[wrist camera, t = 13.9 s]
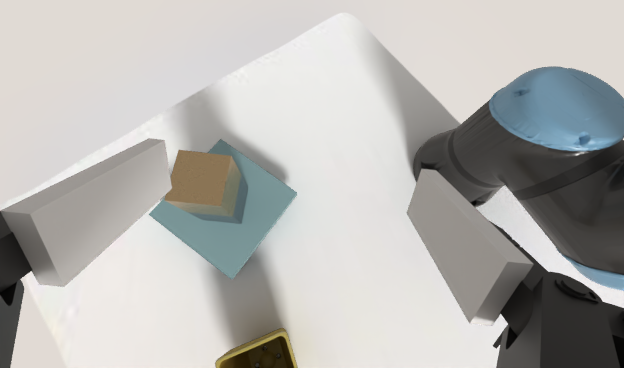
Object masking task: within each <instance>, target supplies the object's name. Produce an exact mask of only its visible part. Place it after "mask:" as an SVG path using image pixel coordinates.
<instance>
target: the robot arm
mask: <svg viewBox="0 0 624 368" xmlns="http://www.w3.org/2000/svg"><path fill="white" fill-rule="evenodd" d="M623 138H624V98H623V97H622V96H621V95H620V94H619V93H618V92H617V91H616V90H615V89H614V88H612V87H611V86H610V85H608V84H607V83H605V82H604V81H602V80H601V79H599V78H597V77H595V76H593V75H591V74H588V73H586V72H583V71H579V70H576V69H572V68H568V69H567V68H563V67H542V68H538V69H534V70H531V71H528V72H526V73H524V74H523V75H521V76H519V77H518V78H516V79H515V80H514V81H513V82H511V83H510V84H509V85H507V86H506V87H504V88H502V89H500V90H499V91H497V92H496V93H495V94H494V95H493V97H492V98H491V99H490V100H489V101H488V102H487V103H485V104H484V105H483V106H482V107H481V108H480V109H479V110H477V111H476V112H475V113H474V114H473V115H472V116H470V117H469V118H468V119H467V120H466V121H464V122H463V123H462V124H461V125H460V126H459V127H458V128H456V129H453V130H450V131H447V132H444V133H441V134H438V135H436V136H434V137H432V138H430V139H429V140H428V141H427V142H426V143H425V144H423V145H422V146H421V148H420V149H419V150H418V152H417V154H416V156H415V159H414V175H415V178H416V181H417V184H416V187H415V190H414V193H413V196H412V199H411V202H410V205H409V208H408V211H407V215H408V216H409V218H410V220H411V222H412V223H413V225H414V227H415V229H416V230H417V232H418V234H419V236H420V237H421V239H422V241H423V243H424V244H425V246H426V248H427V250H428V251H429V253H430V255H431V257H432V258H433V260H434V262H435V264H436V265H437V267H438V269H439V271H440V272H441V274H442V276H443V278H444V279H445V281H446V283H447V285H448V287H449V288H450V290H451V292H452V294H453V295H454V297H455V299H456V301H457V302H458V304H459V306H460V308H461V309H462V311H463V313H464V315H465V316H466V318H467V320H468V322H469V323H470V324H477V325H488V326H492V325H493V324H494V322H495V321H496V319H497V318H498V317H499V315H500V314H502V316H503V317H504V318H505V320H506V321H507V323H508V325H507V326H506V328H505V329H504V331H503V332H502V333H501V335H500V336H499V338H498V339H497V340H496V342H495V343H494V345H493V347H495V348H497V347H498V346H499V345H500V351H499V356H498V361H497V367H496V368H624V308H621V307H618V306H615V305H612V304H608V303H605V302H602V300H601V298H600V297H599V296H598V295H597V294H596V293H595V292H594V291H593V290H591V289H590V288H588V287H587V286H585V285H584V284H582V283H581V282H579V281H577V280H575V279H573V278H571V277H568V276H566V275H563V274H560V273H555V272H548V271H547V270H546V269H545V268H544V267H542V266H541V265H540V264H539V263H538V262H537V261H536V260H535V259H534V258H533V257H532V256H531V255H530V254H529V253H527V252H526V251H525V250H524V249H523V248H522V247H520V245H519V244H518V243H517V242H516V241H515V240H512V238H511V237H510V236H509V235H508V234H507V233H506V232H505V231H504V230H503V229H501V228H500V227H498V226H497V225H495V224H493V223H492V222H490V221H488V220H487V219H486V218H485V217H484V216H483V215H482V214H481V213H480V212H479V211H478V210H477V209H476V208H475V207H478V206H480V205H482V204H484V203H486V202H487V201H488V200H490V199H491V198H492V197H493V196H494V194H495V193H496V192H497V191H498V190H499V189H500V188H501V187H502V186H504V185H506V186H507V188H508V189H509V190H510V191H511V192H512V193H513V195H514V196H515V197H516V198H517V200H518V201H519V202H520V203H521V204H522V206H523V207H524V208H525V209H526V211H527V212H528V213H529V214H530V216H531V217H532V218H533V219H534V220H535V222H536V223H537V224H538V225H539V227H540V228H541V229H542V230H543V232H544V233H545V234H546V235H547V236H548V238H549V239H550V240H551V241H552V243H553V244H554V245H555V246H556V248H557V250H558V252H559V253H561V255H562V256H563V257H564V258H566V259H567V260H568V261H570V262H571V264H572V265H573V266H574V267H575V268H576V269H577V270H578V271H579V272H580V273H581V274H582V275H584V276H585V277H586V278H588V279H590V280H592V281H593V282H595V283H598V284H600V285H603V286H606V287H609V288H613V289H617V290H622V291H624V140H623ZM171 189H172V185H171V178H170V172H169V166H168V159H167V153H166V147H165V140H158V139H147V140H145V141H143V142H141V143H139V144H137V145H135V146H133V147H130V148H128V149H126V150H124V151H122V152H120V153H118V154H116V155H114V156H112V157H110V158H108V159H106V160H104V161H102V162H100V163H98V164H96V165H94V166H91V167H89V168H87V169H85V170H83V171H81V172H79V173H77V174H75V175H73V176H71V177H69V178H67V179H65V180H63V181H61V182H59V183H57V184H54V185H52V186H50V187H48V188H46V189H44V190H42V191H40V192H38V193H36V194H34V195H32V196H30V197H28V198H26V199H24V200H22V201H20V202H18V203H15V204H13V205H11V206H9V207H7V208H5V209H3V210H1V211H0V368H10V365H11V360H12V354H13V348H14V343H15V338H16V332H17V326H18V321H19V315H20V309H21V304H22V299H23V293H24V286H23V283H22V281H21V280H20V279H21V278H22V277H24V276H25V275H26V274H28V273H29V272H30V271H32V272H33V274H34V276H35V278H36V280H37V282H38V283H39V285H49V286H60V287H65V286H66V285H67V284H68V283H69V282H70V281H71V280H72V279H73V278H74V277H76V276H77V275H78V274H79V273H80V272H81V271H82V270H83V269H84V268H85V267H87V266H88V265H89V264H90V263H91V262H92V261H93V260H94V259H95V258H96V257H98V256H99V255H100V254H101V253H102V252H103V251H104V250H105V249H106V248H107V247H109V246H110V245H111V244H112V243H113V242H114V241H115V240H116V239H117V238H118V237H120V236H121V235H122V234H123V233H124V232H125V231H126V230H127V229H128V228H129V227H131V226H132V225H133V224H134V223H135V222H136V221H137V220H138V219H139V218H140V217H142V216H143V215H144V214H145V213H146V212H147V211H148V210H149V209H150V208H151V207H152V206H154V205H155V204H156V203H157V202H158V201H159V200H160V199H161V198H162V197H163V196H165V195H166V194H167V193H168V192H169V191H170V190H171Z"/></svg>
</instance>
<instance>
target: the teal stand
mask: <svg viewBox="0 0 624 368" xmlns="http://www.w3.org/2000/svg"><path fill="white" fill-rule="evenodd" d="M208 153H210V154H219V155H228V156H232V158H233V160H234V162H235V164H236V165H237V167H238V169H239V171H240V173H241V174H242V176H243V178H244V180H245V182H246V183H247V185H248V193H247V198H246V204H245V209H244V215H243V220H242V224H235V223H225V222H215V221H206V220H201V219H199V218H197V217H195V216H193V215H191V214H190V213H188V212H186V211H184V210H182V209H180V208H178V207H176V206H174V205H172V204H170V203H168V202H167V201H165V198H164V199H163V200H162V201H161V202H160V203H159V204H158V205H157V206H156V207H155V209H154V210H153V211H152V212H151V213H150V214H149V215H150V216H151V217H153V218H154V219H155V220H156V221H158V222H159V223H160V224H161V225H163V226H164V227H165V228H167V229H168V230H169V231H170V232H172V233H173V234H174V235H175V236H177V237H178V238H179V239H181V240H182V241H183V242H184V243H186V244H187V245H188V246H189V247H191V248H192V249H193V250H195V251H196V252H197V253H198V254H200V255H201V256H202V257H203V258H205V259H206V260H207V261H209V262H210V263H211V264H212V265H214V266H215V267H216V268H217V269H219V270H220V271H221V272H223V273H224V274H225V275H226V276H228V277H229V278H230V279H234V277H235V276H236V275H237V273H238V272H239V271H240V269H241V268H242V267H243V265H244V264H245V263H246V261H247V260H248V259H249V258H250V256H251V255H252V254H253V252H254V251H255V250H256V248H257V247H258V246H259V244H260V243H261V242H262V240H263V239H264V238H265V236H266V235H267V234H268V233H269V231H270V230H271V229H272V227H273V226H274V225H275V223H276V222H277V221H278V219H279V218H280V217H281V215H282V214H283V213H284V211H285V210H286V209H287V208H288V206H289V205H290V204H291V202H292V201H293V200H294V198H295V197H296V196H297V192H295V191H294V190H293V189H291V188H290V187H288V186H287V185H285V184H284V183H283V182H281V181H280V180H278V179H277V178H275V177H274V176H273V175H271V174H270V173H268V172H267V171H266V170H264V169H263V168H261V167H260V166H258V165H257V164H256V163H254V162H253V161H251V160H250V159H248V158H247V157H246V156H244V155H243V154H241V153H240V152H238V151H237V150H236V149H234V148H233V147H231V146H230V145H228V144H227V143H226V142H224V141H223V140H221V139H220V140H219V141H218V143H217V144H216V145H215V146H214V147H213V148H212V149H211V150H210V151H209V152H208Z"/></svg>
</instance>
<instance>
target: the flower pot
mask: <svg viewBox="0 0 624 368" xmlns="http://www.w3.org/2000/svg"><path fill="white" fill-rule="evenodd" d="M264 346H266V348H267V349H266V350H265V351H264V350H263V347H264ZM278 353H279V354H280V357H279V358H277V356H276V355H277V354H278ZM256 363H259V367H256V366H255V364H256ZM215 366H216V368H298V367H297V364H296V360H295V357H294V354H293V350H292V347H291V344H290V340H289V337H288V334H287V332H286V330H285V329H284V328H280V329H278V330H276V331H273V332H271V333H269V334H267V335H264V336H262V337H260V338H258V339H255V340H253V341H250V342H248V343H246V344H243V345H241V346H238V347H236V348H234V349H232V350H230V351H228V352H227V353H226V354H224V355H223V356H221V357H220V358H219V359H218V360H217V361H216V363H215Z"/></svg>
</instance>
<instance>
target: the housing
mask: <svg viewBox="0 0 624 368" xmlns="http://www.w3.org/2000/svg"><path fill="white" fill-rule="evenodd" d="M171 185H172V189H171V190H170V191H169V192H168V193H167V194H166V196H165V201H167V202H168V203H170V204H172V205H174V206H176V207H178V208H180V209H182V210H184V211H186V212H188V213H190V214H191V215H193V216H195V217H197V218H199V219H201V220H206V221H215V222H225V223H235V224H242V220H243V215H244V209H245V204H246V198H247V193H248V185H247V183H246V182H245V180H244V178H243V176H242V174H241V173H240V171H239V169H238V167H237V165H236V164H235V162H234V160H233V158H232V156H228V155H219V154H210V153H201V152H192V151H184V150H179V151H178V154H177V158H176V161H175V165H174V168H173V172H172V175H171Z"/></svg>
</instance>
